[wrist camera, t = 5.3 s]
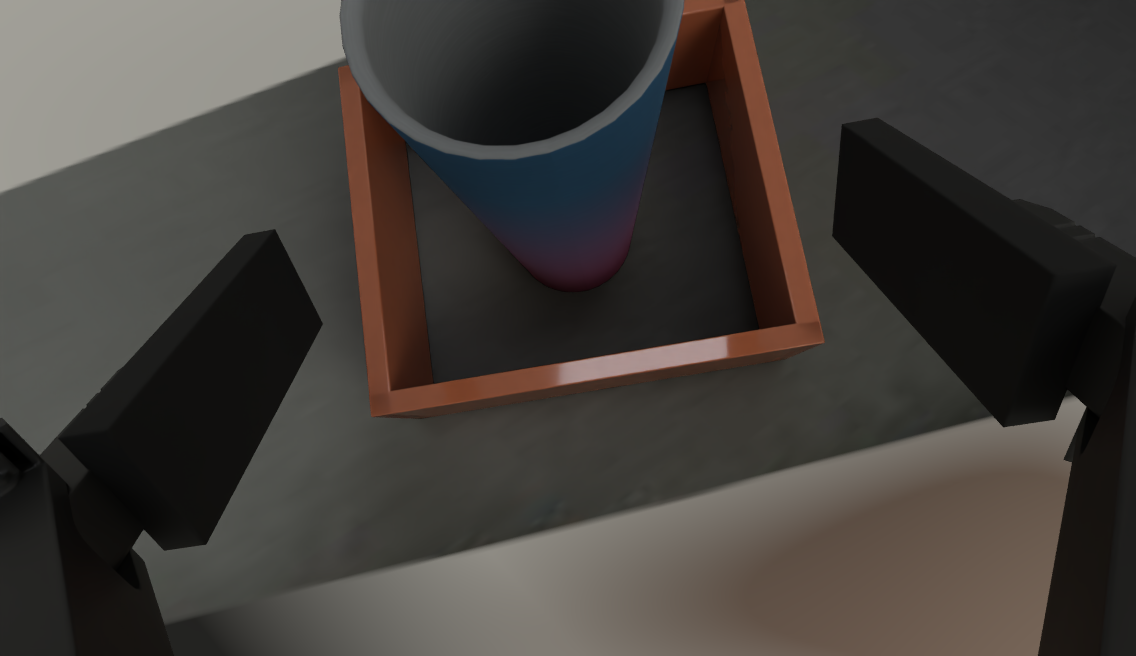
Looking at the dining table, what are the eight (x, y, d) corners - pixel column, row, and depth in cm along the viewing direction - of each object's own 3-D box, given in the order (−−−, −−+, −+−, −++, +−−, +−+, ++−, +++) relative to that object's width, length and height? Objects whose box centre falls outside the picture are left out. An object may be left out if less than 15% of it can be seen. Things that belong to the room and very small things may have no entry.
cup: (482, 188, 27) (311, -97, 12) (627, 146, 27) (630, -199, 12) (517, 330, 26) (374, 202, 11) (670, 288, 26) (731, 99, 11)
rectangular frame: (419, 418, 26) (370, 417, 21) (387, 129, 28) (337, 66, 23) (785, 359, 25) (825, 342, 20) (720, 63, 27) (741, -17, 22)
